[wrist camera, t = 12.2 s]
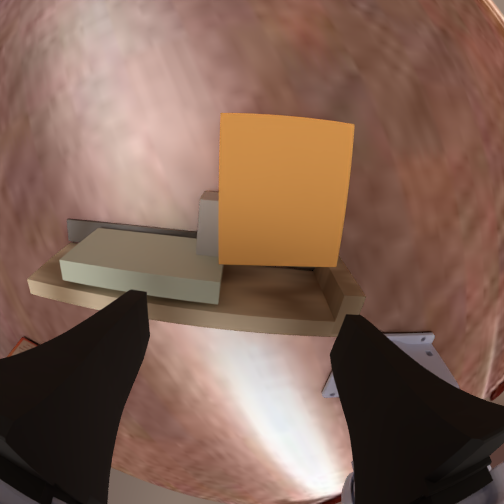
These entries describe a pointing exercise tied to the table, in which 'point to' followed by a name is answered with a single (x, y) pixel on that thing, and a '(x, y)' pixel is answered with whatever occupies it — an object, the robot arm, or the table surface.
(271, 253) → the block
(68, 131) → the table surface
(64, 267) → the sliding gate
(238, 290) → the wooden track base
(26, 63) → the table surface
